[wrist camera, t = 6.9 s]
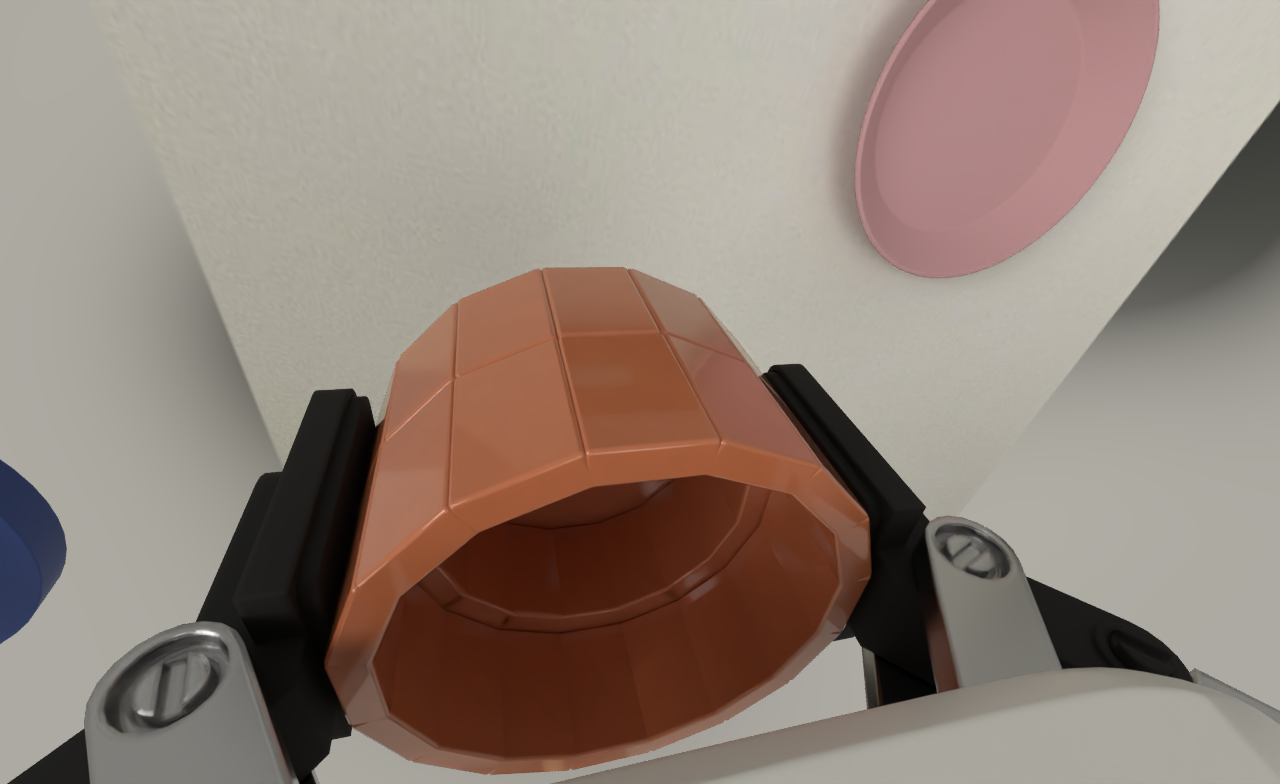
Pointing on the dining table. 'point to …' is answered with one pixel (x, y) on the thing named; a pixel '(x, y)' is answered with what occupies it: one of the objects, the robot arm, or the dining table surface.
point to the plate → (996, 125)
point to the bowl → (584, 532)
